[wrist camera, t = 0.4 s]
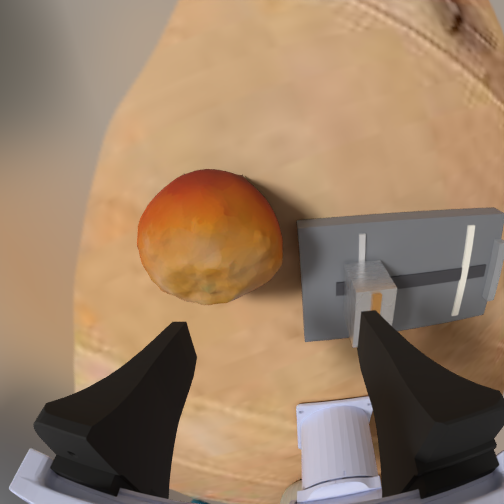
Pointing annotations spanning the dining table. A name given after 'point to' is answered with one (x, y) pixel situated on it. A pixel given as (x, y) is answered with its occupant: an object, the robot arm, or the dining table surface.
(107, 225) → the dining table surface
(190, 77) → the dining table surface
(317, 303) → the board
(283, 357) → the dining table surface
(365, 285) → the fader cap
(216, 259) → the fruit
